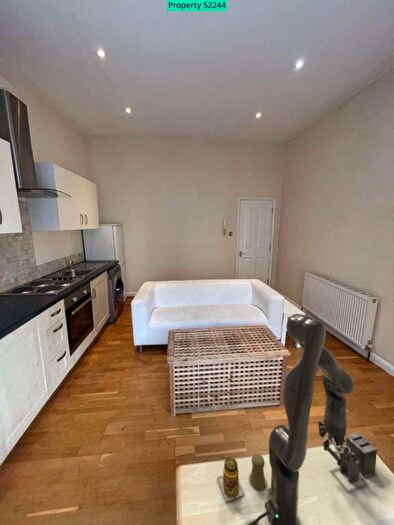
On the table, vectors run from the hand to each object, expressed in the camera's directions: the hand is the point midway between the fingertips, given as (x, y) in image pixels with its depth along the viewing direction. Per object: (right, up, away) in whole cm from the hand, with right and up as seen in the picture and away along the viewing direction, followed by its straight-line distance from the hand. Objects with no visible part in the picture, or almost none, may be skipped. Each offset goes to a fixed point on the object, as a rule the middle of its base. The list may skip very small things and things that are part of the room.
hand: (332, 456), depth 89 cm
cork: (-30, -13, +3) cm, 33 cm away
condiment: (-42, -13, +1) cm, 44 cm away
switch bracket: (+9, -12, +3) cm, 16 cm away
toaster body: (+17, -12, +8) cm, 22 cm away
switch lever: (+4, -1, +1) cm, 5 cm away
